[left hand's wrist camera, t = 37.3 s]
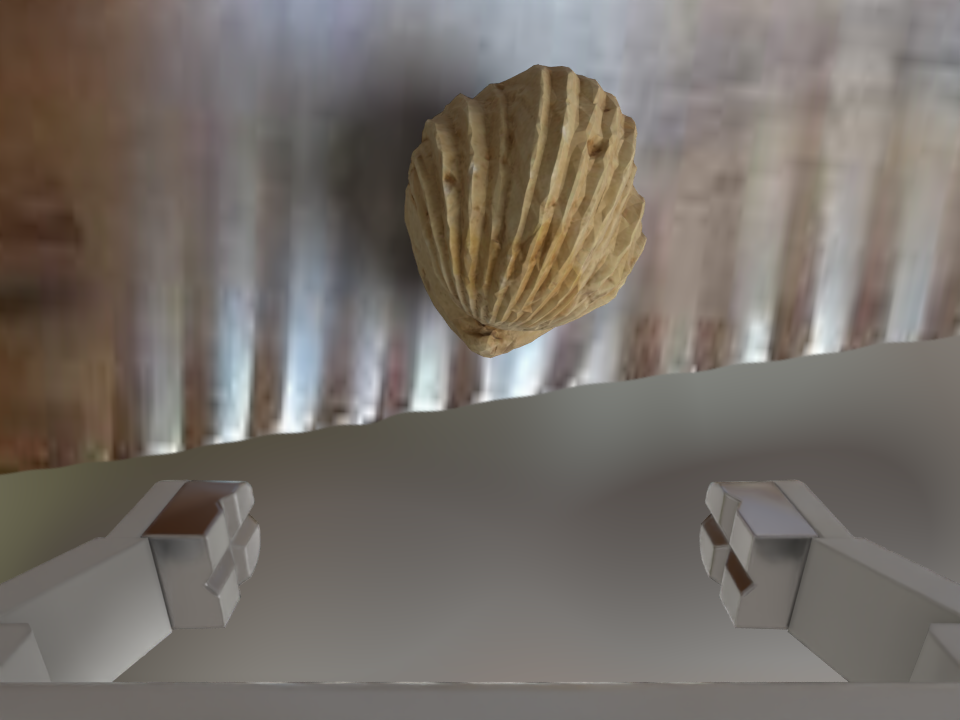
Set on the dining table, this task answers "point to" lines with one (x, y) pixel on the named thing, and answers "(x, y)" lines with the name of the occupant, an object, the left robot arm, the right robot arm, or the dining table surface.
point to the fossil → (524, 207)
